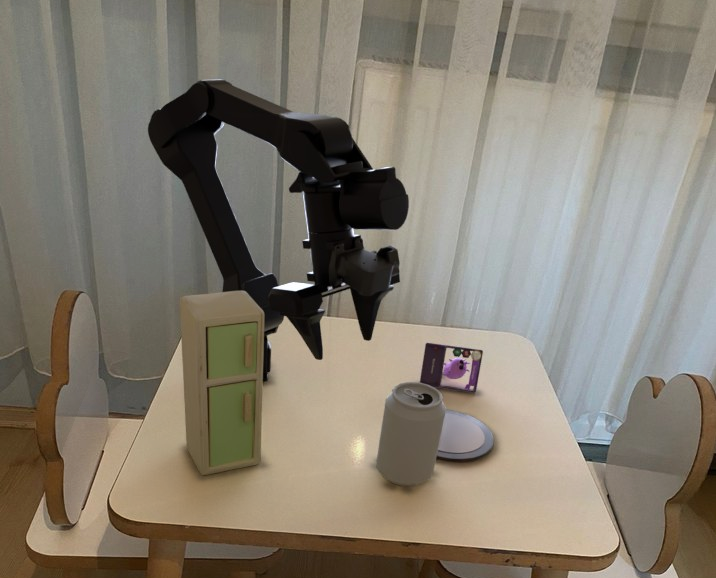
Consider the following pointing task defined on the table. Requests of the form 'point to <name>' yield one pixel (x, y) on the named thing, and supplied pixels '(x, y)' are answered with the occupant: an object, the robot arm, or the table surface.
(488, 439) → the coaster
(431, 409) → the can
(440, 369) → the game card
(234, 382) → the toy refrigerator
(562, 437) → the table surface
